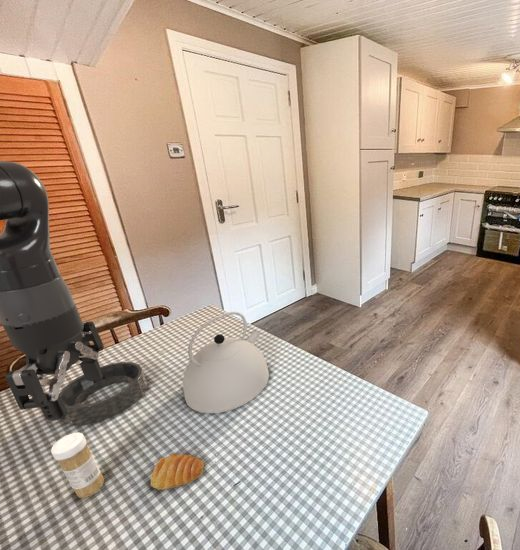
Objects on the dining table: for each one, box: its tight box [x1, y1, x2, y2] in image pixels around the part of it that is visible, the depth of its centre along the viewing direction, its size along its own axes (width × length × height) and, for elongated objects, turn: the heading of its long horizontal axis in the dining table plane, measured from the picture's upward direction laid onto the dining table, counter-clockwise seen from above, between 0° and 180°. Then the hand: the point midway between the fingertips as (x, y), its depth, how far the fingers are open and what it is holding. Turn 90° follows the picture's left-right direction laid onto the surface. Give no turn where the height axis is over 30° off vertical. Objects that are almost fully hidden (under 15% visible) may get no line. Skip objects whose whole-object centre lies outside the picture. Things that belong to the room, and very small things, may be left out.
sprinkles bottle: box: [50, 432, 106, 499], centre depth 59 cm, size 5×5×14 cm
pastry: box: [150, 453, 205, 491], centre depth 63 cm, size 9×7×4 cm
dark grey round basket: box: [58, 361, 148, 426], centre depth 82 cm, size 18×18×6 cm
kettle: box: [182, 311, 270, 414], centre depth 86 cm, size 25×23×23 cm
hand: (78, 397), depth 49 cm, fingers open, 8 cm apart
